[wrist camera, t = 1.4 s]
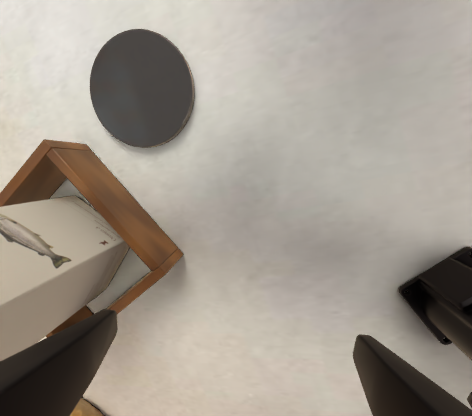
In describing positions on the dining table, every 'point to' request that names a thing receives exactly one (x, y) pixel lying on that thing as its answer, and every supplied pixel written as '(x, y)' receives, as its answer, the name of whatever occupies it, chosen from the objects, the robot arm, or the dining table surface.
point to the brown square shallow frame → (103, 200)
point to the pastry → (85, 409)
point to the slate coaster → (142, 88)
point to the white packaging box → (51, 266)
